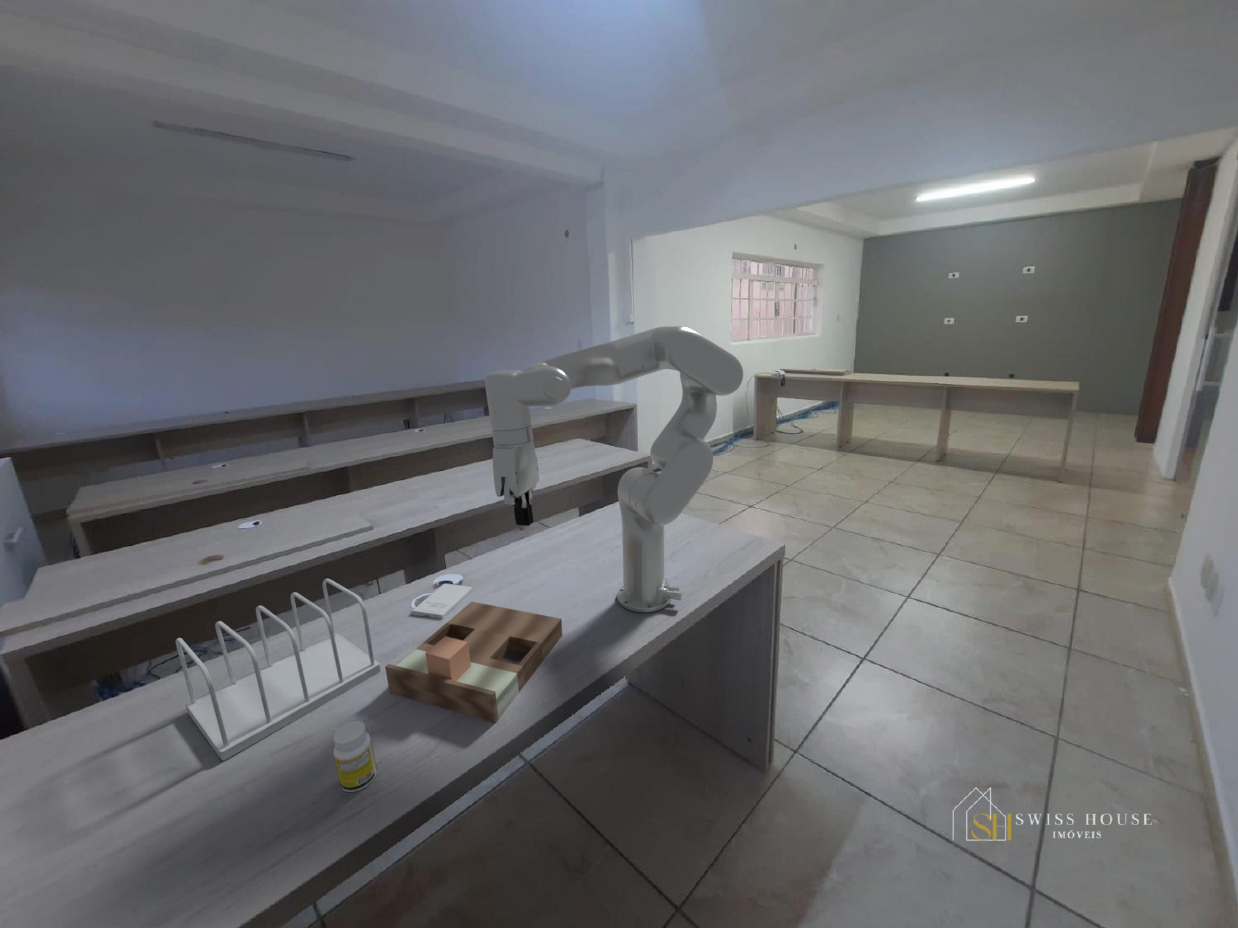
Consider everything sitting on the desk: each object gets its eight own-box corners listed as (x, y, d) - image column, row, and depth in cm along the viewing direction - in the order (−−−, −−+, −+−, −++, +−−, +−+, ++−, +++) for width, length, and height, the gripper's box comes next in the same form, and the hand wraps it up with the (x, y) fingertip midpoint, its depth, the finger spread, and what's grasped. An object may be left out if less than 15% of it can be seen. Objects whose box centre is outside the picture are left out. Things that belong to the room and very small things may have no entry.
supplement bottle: (349, 765, 74) (339, 719, 71) (382, 762, 74) (373, 716, 72) (334, 795, 69) (323, 746, 67) (369, 791, 69) (359, 743, 67)
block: (471, 666, 89) (468, 641, 87) (452, 684, 84) (448, 659, 83) (448, 659, 90) (445, 636, 89) (429, 677, 86) (425, 652, 85)
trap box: (562, 635, 103) (560, 612, 102) (495, 722, 81) (492, 694, 79) (473, 617, 111) (470, 595, 109) (389, 692, 88) (385, 666, 87)
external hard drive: (472, 592, 122) (443, 620, 111) (443, 588, 124) (411, 616, 113) (472, 586, 122) (442, 614, 110) (443, 583, 124) (410, 609, 112)
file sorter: (223, 763, 75) (196, 676, 71) (187, 714, 85) (162, 634, 81) (382, 671, 94) (368, 598, 90) (338, 639, 104) (324, 572, 100)
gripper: (515, 426, 103) (526, 508, 108) (473, 445, 89) (488, 538, 95) (547, 427, 101) (557, 510, 106) (510, 446, 87) (523, 541, 92)
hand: (524, 523), depth 100 cm, fingers closed
